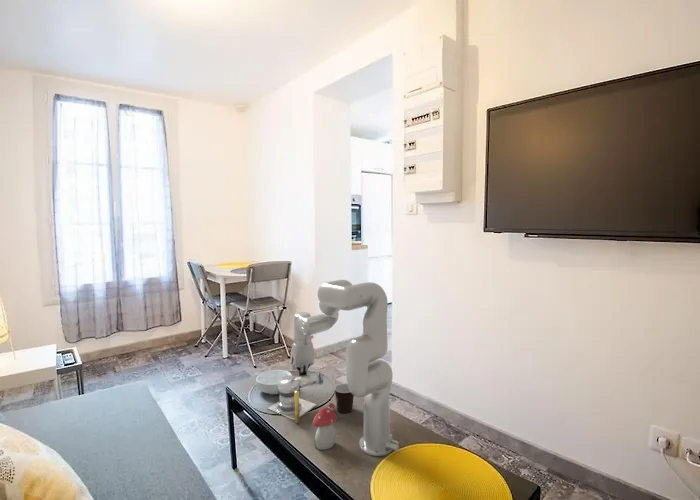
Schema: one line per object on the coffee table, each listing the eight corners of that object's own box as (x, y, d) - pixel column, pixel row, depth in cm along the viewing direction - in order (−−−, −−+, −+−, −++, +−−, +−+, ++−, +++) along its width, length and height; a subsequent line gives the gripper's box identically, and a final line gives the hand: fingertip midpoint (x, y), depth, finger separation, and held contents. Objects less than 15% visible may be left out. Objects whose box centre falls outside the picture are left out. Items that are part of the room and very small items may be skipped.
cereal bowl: (298, 385, 181) (297, 371, 180) (282, 401, 165) (281, 386, 165) (267, 380, 186) (267, 367, 186) (249, 396, 171) (249, 381, 170)
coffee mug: (353, 416, 153) (353, 393, 152) (333, 414, 154) (332, 392, 153) (357, 402, 164) (356, 381, 163) (338, 400, 165) (337, 379, 165)
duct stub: (297, 425, 147) (296, 392, 145) (264, 411, 157) (263, 381, 156) (321, 407, 160) (321, 377, 159) (289, 395, 170) (289, 368, 169)
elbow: (281, 398, 151) (280, 385, 151) (275, 388, 160) (275, 376, 159) (325, 388, 160) (324, 376, 159) (317, 379, 168) (317, 368, 168)
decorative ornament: (334, 437, 139) (333, 399, 137) (340, 447, 133) (340, 408, 131) (310, 443, 135) (310, 404, 134) (315, 453, 129) (315, 413, 128)
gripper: (312, 334, 170) (312, 372, 172) (283, 341, 161) (284, 380, 163) (321, 339, 164) (321, 378, 166) (291, 346, 155) (291, 387, 157)
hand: (302, 379), depth 165 cm, fingers closed
